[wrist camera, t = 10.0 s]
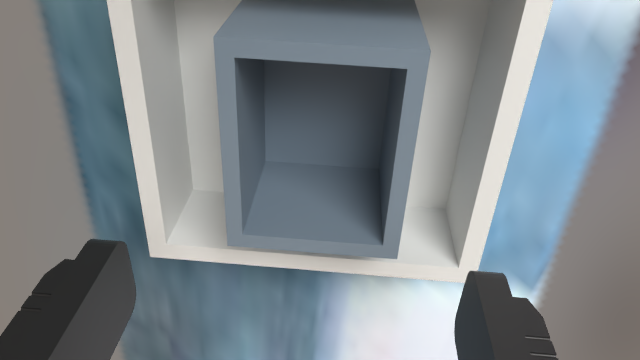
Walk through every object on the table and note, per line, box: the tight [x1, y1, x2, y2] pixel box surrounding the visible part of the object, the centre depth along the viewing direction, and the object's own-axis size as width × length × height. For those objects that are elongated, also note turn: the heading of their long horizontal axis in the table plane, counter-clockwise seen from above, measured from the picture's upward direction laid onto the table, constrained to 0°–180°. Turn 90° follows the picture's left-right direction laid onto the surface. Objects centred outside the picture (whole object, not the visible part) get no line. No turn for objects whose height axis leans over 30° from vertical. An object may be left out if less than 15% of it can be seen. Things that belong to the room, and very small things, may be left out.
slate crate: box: [213, 0, 431, 259], centre depth 20 cm, size 8×6×6 cm
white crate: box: [107, 0, 553, 283], centre depth 21 cm, size 13×14×5 cm
